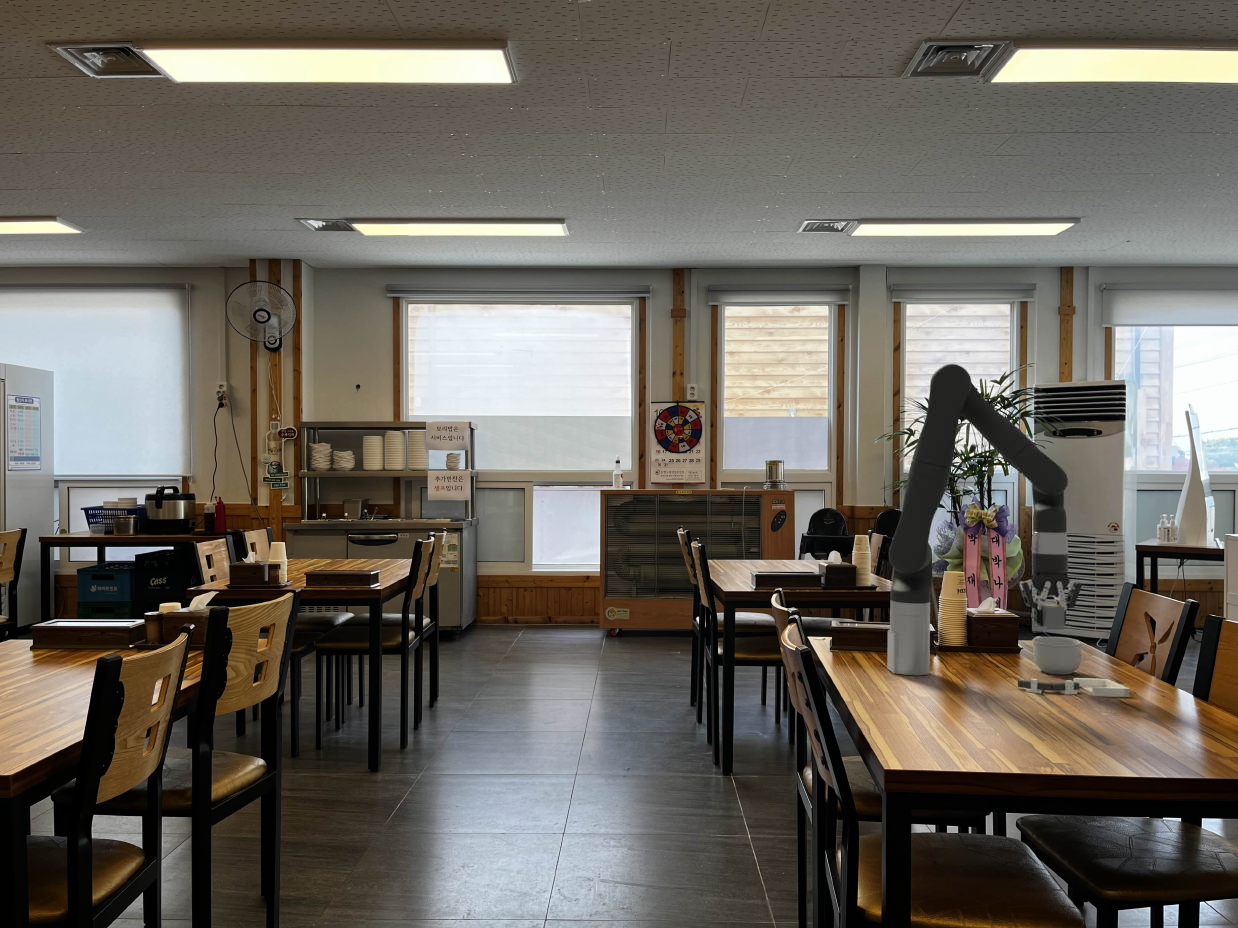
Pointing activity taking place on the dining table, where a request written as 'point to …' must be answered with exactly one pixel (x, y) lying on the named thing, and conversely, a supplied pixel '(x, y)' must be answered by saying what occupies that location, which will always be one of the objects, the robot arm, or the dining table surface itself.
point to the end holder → (1103, 687)
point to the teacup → (1057, 654)
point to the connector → (1053, 617)
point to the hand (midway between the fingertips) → (1050, 625)
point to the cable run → (1046, 685)
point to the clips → (1068, 690)
